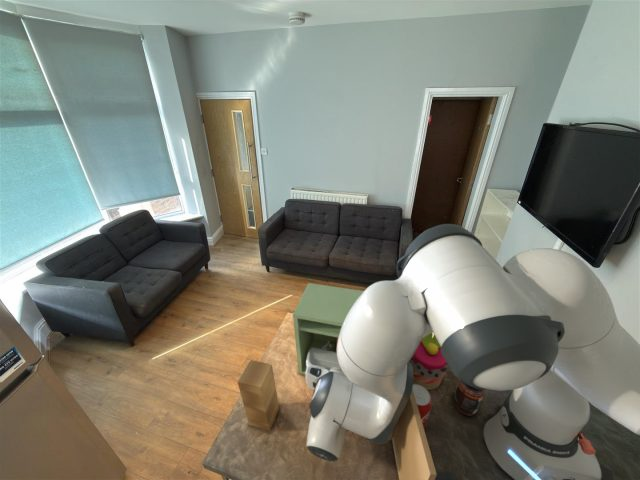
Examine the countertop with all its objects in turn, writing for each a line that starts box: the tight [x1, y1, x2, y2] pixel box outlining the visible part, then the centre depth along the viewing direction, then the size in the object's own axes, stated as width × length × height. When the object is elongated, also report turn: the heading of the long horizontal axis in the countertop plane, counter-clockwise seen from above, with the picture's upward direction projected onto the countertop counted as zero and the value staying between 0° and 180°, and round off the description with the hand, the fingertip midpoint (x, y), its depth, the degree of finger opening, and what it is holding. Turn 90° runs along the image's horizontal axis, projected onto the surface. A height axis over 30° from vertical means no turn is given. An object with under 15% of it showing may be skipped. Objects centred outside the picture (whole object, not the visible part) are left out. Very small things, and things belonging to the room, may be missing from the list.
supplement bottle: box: [452, 379, 486, 416], centre depth 69 cm, size 6×6×11 cm
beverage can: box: [413, 384, 433, 430], centre depth 65 cm, size 6×6×12 cm
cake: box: [409, 333, 448, 391], centre depth 76 cm, size 10×11×15 cm
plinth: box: [237, 359, 280, 432], centre depth 66 cm, size 6×6×18 cm
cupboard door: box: [391, 388, 456, 480], centre depth 56 cm, size 6×26×24 cm, turn 178°
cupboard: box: [292, 282, 365, 376], centre depth 78 cm, size 14×26×24 cm, turn 75°
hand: (345, 344), depth 81 cm, fingers open, 8 cm apart
